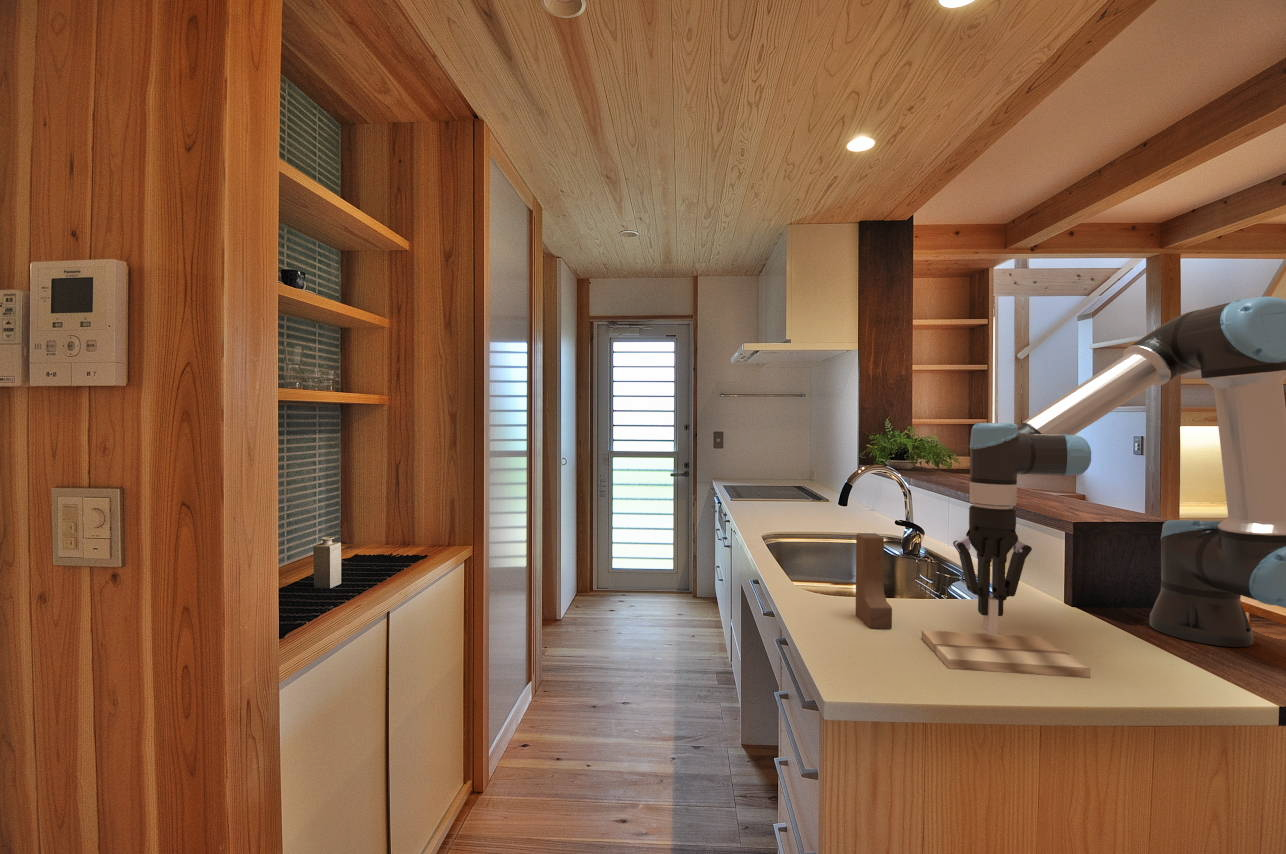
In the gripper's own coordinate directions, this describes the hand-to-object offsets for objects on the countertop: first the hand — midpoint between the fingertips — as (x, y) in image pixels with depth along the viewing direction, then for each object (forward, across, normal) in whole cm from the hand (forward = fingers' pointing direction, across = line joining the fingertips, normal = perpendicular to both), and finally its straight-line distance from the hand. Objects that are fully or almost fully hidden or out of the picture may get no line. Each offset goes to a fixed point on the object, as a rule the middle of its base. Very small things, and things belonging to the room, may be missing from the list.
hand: (990, 632), depth 108 cm
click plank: (+3, 0, 0) cm, 3 cm away
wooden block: (+4, +18, -12) cm, 22 cm away
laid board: (+3, 0, +7) cm, 8 cm away
